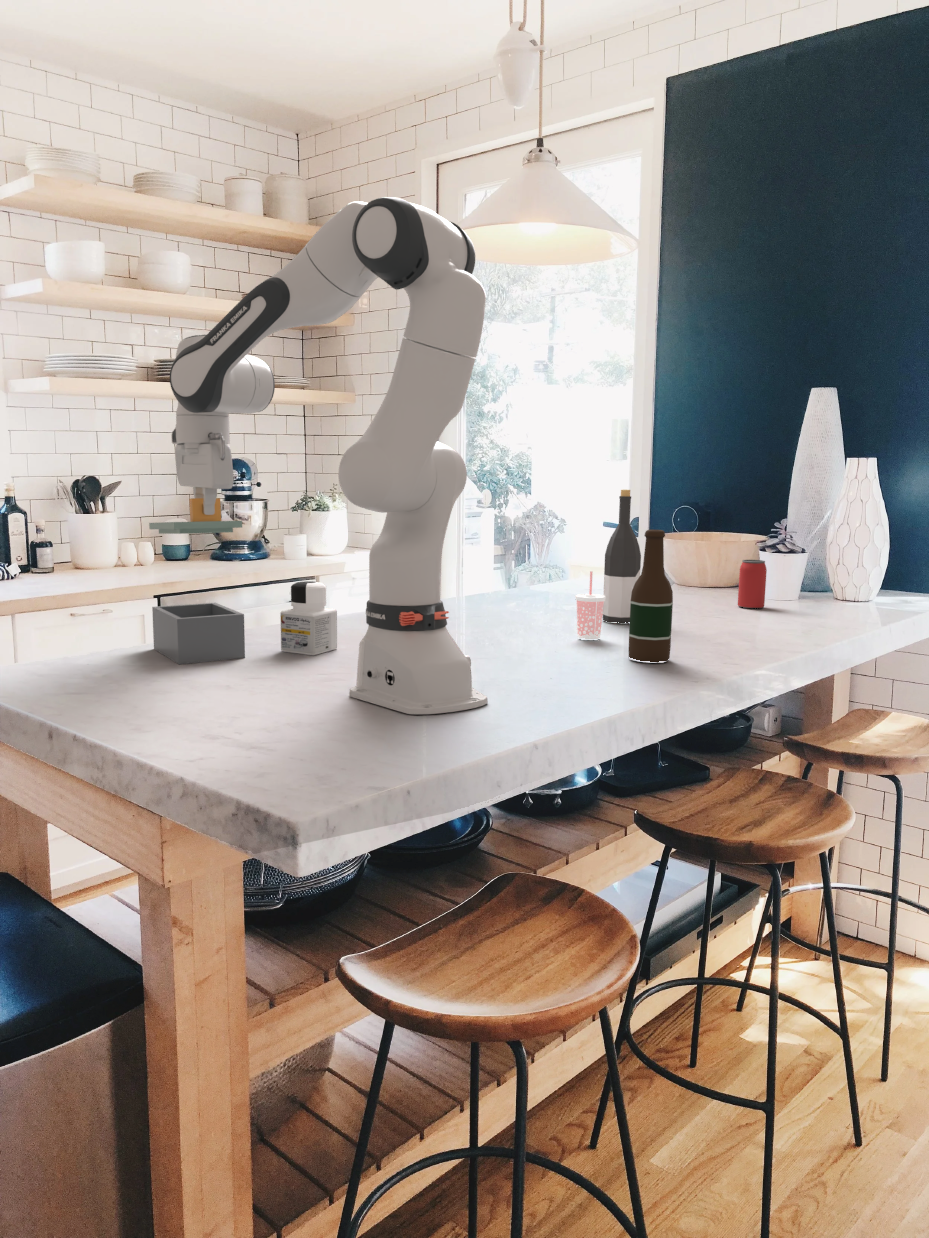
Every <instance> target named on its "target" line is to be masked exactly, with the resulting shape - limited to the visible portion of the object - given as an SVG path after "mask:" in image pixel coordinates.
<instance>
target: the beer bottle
mask: <svg viewBox="0 0 929 1238" xmlns="http://www.w3.org/2000/svg"><path fill="white" fill-rule="evenodd" d="M644 537H645V546H644V554H643V562H642V563H643V564H642V568H641V572H640V577H639V578H638V580H637V581H636V582H635V585H634V587H633V590H632V594H631V604H630V624H629V626H628V627H629V628H628V629H629V632H628V658H629V657H630V658H633V659H636V660H640V661H650V662H659V661H667V660H668V659H669V660H670V657H671V649H672V648H671V646H672V645H671V644H672V643H671V642H672V628H673V627H672V624H673V605H674V603H673V602H674V595H673V594H674V593H673V588H672V585H671V582H670V581H669V579H668V577H667V576H666V574H665V563H664V561H665V558H664V555H665V554H664V552H665V551H664V550H665V549H664V538H665V537H666V534H665V530H662V529H648V530H647V529H646V530H645V532H644ZM669 660H668V661H669ZM668 661H667V662H668Z"/></svg>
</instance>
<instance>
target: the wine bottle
mask: <svg viewBox="0 0 929 1238" xmlns="http://www.w3.org/2000/svg"><path fill="white" fill-rule="evenodd" d="M631 501H632V496H631V489H620V496H619V509H618V510H619V511H618V524H617V525H616V527H615V529H614V531H613V533H612V535H611V536H610V538H609V541H608V543H607V546H606V550H605V554H604V568H603V569H604V571H603V572H604V573H603V575H604V576H603V594H602V595H604V596H606V597H605V601H604V605H603V615H602V621H603V620H605V621H607V622H617V623H618V622H619V623H625V622H626V623H628V622H630V604H631V594H632V590H633V587H634V585H635V582H636V581H637V580H638V578H639V577H640V575H641V566H642V565H641V564H642V563H641V562H642V561H641V560H642V555H641V554H642V553H641V549H640V544H639V541H638V539H637V536H636V534H635V532H634V530H633V527H632V526H631V523H630V522H631V505H632V502H631ZM605 621H604V622H605ZM607 622H606V623H607Z"/></svg>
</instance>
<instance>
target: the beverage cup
mask: <svg viewBox="0 0 929 1238" xmlns="http://www.w3.org/2000/svg"><path fill="white" fill-rule="evenodd" d="M592 590H593V571H589V591H588V592H589V593H579V594H576V595H574V596H575V597H574V598H575V601H576V622H577V623H576V624H577V625H576V628H577V629H576V630H577V631H576V632H577V638H578V637H579V638H585V639H598V638H600V639H601V633H602V623H603V605H604V601H605V597H606V596H604V595H603V594H595V593H593V592H592Z"/></svg>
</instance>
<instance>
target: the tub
mask: <svg viewBox="0 0 929 1238" xmlns="http://www.w3.org/2000/svg"><path fill="white" fill-rule="evenodd" d="M151 609H152V612H151V613H152V630H153V631H152V632H153V636H152V637H153V650H155V651H157V652H158V653H160V654H162V655H163V656H165V657H166V658H168V659H169V660H171V661H173V662H174V663H175V664H177V665H184V664H185V665H186V664H187V665H188V664H195V663H196V664H197V663H204V662H206V663H207V662H216V661H224V660H225V661H226V660H236V659H245V658H246V643H245V640H246V639H245V614H244V613H242V612H241V611H240V612H239V611H237V610H234V609H232V608H229V607H227V606H224V605H222V604H219V603H218V602H207V603H205V602H203V603H191V604H190V603H189V604H177V605H176V604H175V605H173V604H172V605H161V606H160V605H159V606H152V608H151Z"/></svg>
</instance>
